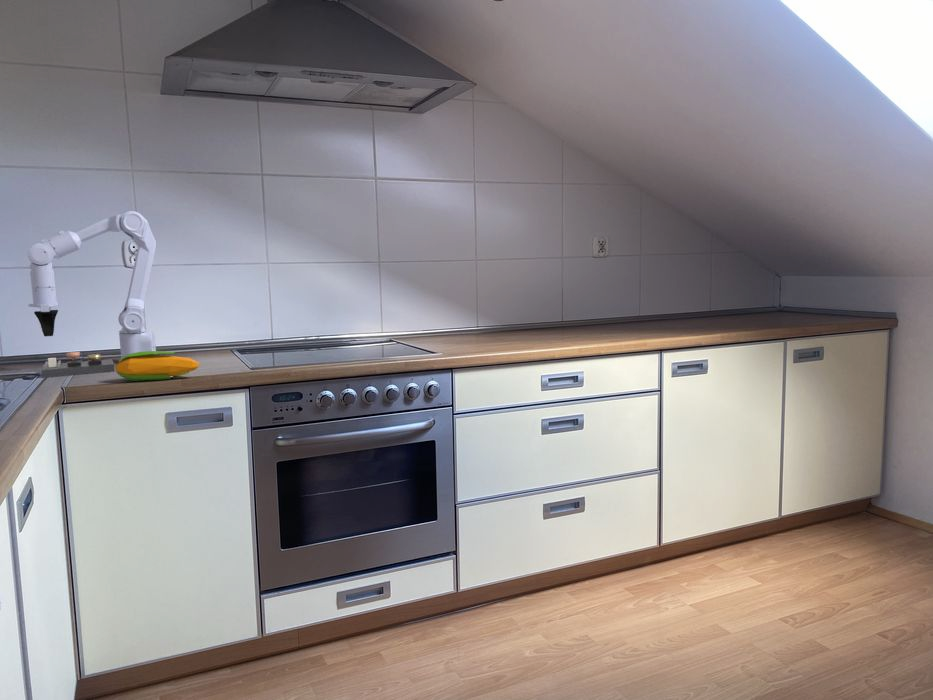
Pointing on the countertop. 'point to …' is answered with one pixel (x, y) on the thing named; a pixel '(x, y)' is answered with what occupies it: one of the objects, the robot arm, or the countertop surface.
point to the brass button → (94, 357)
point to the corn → (153, 366)
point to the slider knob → (52, 362)
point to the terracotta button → (73, 355)
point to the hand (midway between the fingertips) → (48, 336)
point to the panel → (77, 368)
